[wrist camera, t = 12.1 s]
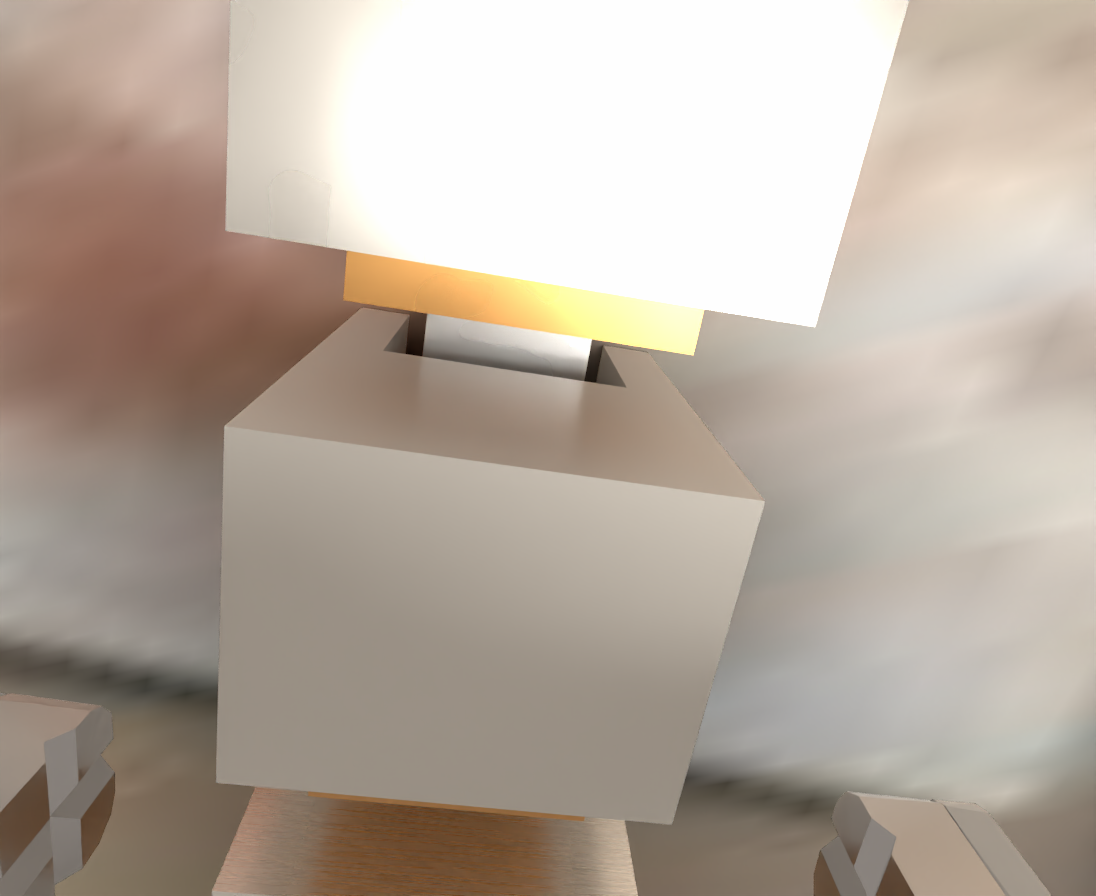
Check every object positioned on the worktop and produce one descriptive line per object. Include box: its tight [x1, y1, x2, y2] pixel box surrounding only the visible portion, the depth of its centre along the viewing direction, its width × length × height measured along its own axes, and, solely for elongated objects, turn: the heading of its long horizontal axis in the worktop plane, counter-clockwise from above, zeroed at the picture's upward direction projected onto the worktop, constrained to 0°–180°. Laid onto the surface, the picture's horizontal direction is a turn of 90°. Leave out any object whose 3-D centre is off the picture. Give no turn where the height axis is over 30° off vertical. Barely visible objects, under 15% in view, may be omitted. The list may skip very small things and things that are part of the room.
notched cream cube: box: [216, 307, 765, 825], centre depth 13 cm, size 6×6×8 cm
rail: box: [212, 0, 909, 896], centre depth 13 cm, size 18×6×8 cm, turn 170°
